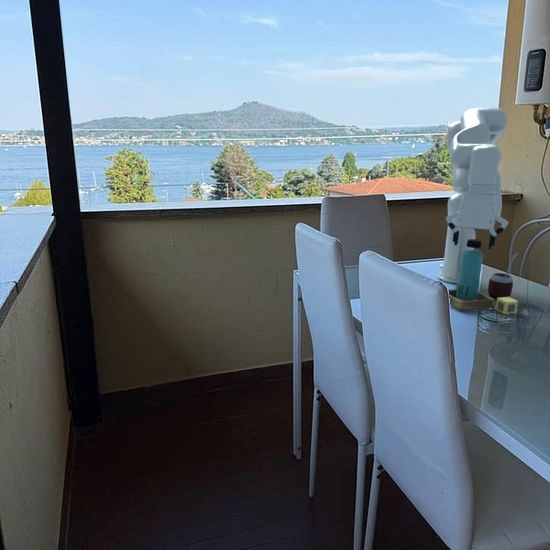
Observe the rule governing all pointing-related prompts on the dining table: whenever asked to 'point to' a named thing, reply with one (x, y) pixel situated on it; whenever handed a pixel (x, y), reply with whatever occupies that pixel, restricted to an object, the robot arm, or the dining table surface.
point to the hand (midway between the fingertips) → (472, 246)
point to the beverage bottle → (469, 271)
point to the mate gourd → (501, 284)
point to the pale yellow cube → (506, 305)
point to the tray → (471, 302)
